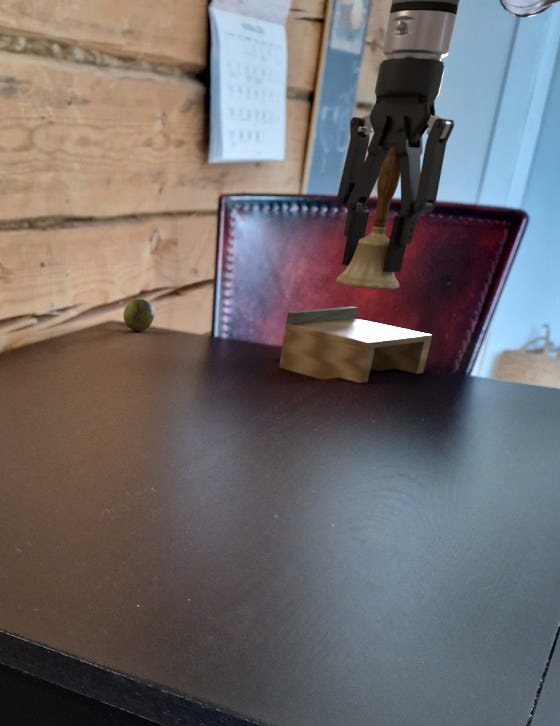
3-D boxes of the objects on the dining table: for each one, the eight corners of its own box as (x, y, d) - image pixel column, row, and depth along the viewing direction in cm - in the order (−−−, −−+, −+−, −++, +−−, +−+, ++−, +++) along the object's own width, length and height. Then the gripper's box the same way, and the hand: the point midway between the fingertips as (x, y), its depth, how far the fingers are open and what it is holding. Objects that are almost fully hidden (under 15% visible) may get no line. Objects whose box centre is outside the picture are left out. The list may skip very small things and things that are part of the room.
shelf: (421, 379, 120) (435, 323, 116) (358, 390, 112) (371, 330, 108) (341, 359, 129) (352, 306, 125) (278, 367, 122) (287, 312, 118)
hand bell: (407, 290, 111) (439, 149, 103) (344, 287, 111) (371, 145, 103) (388, 282, 119) (417, 149, 111) (328, 278, 118) (353, 145, 110)
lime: (118, 329, 141) (120, 297, 138) (141, 328, 143) (144, 296, 141) (134, 334, 138) (137, 302, 135) (158, 332, 140) (161, 300, 138)
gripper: (330, 58, 107) (297, 259, 118) (467, 52, 94) (414, 279, 105) (368, 64, 111) (332, 258, 122) (504, 59, 98) (449, 277, 109)
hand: (370, 267), depth 114 cm, fingers closed on hand bell, 6 cm apart
